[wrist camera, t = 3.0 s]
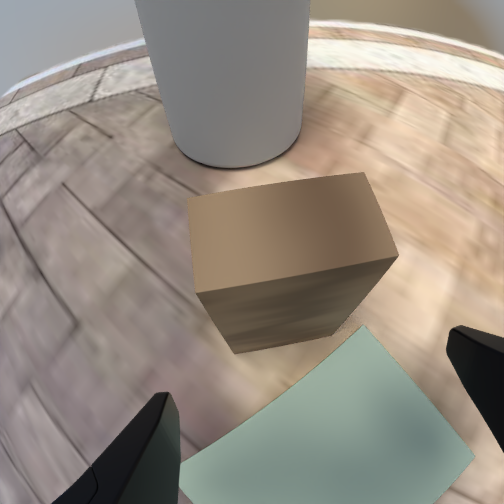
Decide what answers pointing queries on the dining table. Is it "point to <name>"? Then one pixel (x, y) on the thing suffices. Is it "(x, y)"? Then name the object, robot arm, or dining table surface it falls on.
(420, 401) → the mat
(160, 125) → the dining table surface
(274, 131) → the cylinder vase
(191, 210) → the walnut slab
